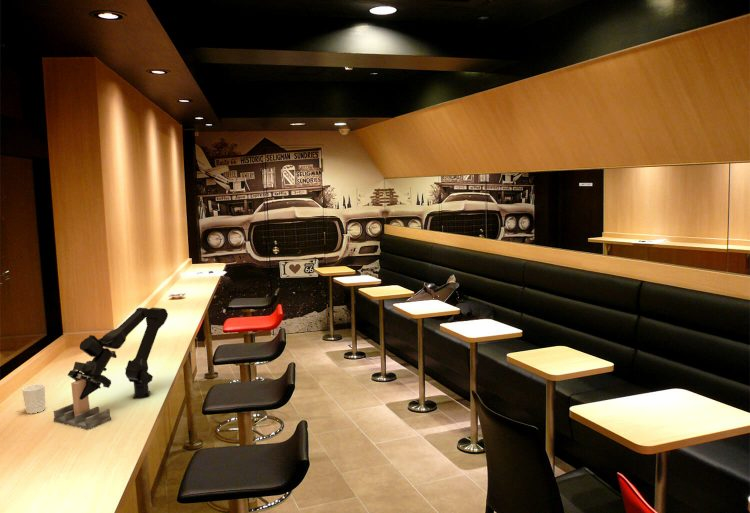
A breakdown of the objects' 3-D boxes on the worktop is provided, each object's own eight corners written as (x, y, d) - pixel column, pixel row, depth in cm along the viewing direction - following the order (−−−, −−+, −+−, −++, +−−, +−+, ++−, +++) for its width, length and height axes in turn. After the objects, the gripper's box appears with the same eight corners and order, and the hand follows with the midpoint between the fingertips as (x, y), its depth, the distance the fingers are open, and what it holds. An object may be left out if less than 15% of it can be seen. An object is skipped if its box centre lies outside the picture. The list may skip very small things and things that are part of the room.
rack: (76, 411, 244) (75, 402, 244) (111, 419, 235) (110, 409, 235) (53, 421, 235) (52, 410, 235) (88, 429, 226) (87, 419, 226)
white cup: (22, 415, 242) (19, 391, 241) (27, 408, 249) (25, 385, 248) (44, 413, 244) (41, 389, 243) (49, 406, 252) (46, 383, 250)
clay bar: (84, 411, 238) (81, 379, 236) (89, 412, 236) (86, 380, 235) (74, 415, 234) (71, 382, 232) (79, 416, 232) (76, 383, 231)
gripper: (69, 350, 240) (46, 385, 231) (101, 355, 231) (79, 392, 223) (88, 363, 248) (67, 398, 239) (120, 369, 239) (99, 405, 231)
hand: (77, 398), depth 233 cm, fingers closed on clay bar, 3 cm apart
